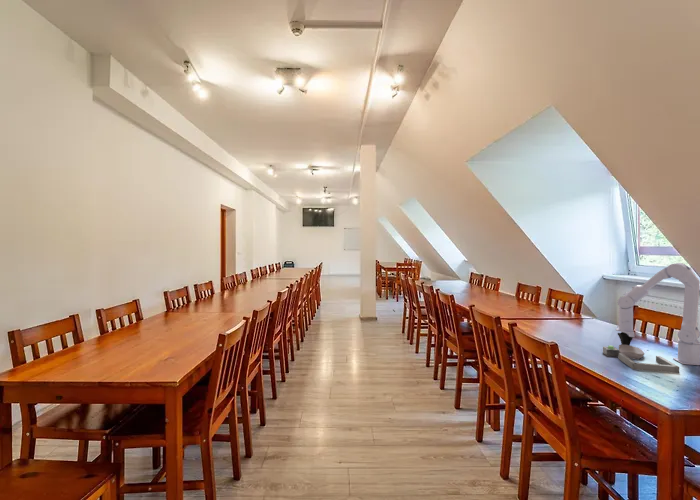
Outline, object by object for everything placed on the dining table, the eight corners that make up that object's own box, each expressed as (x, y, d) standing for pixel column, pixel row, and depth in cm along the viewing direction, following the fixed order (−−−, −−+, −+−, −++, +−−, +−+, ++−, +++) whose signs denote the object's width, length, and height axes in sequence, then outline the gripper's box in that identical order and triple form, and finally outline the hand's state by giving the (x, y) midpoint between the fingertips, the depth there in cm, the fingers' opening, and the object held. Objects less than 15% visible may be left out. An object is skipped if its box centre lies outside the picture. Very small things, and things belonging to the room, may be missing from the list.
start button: (612, 354, 180) (612, 345, 180) (614, 355, 178) (614, 346, 178) (607, 353, 181) (607, 345, 181) (609, 354, 179) (609, 346, 179)
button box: (614, 353, 181) (614, 347, 181) (619, 356, 176) (619, 350, 176) (602, 352, 182) (602, 346, 182) (606, 355, 178) (606, 349, 178)
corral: (659, 361, 169) (660, 356, 169) (679, 373, 154) (679, 367, 154) (618, 358, 173) (618, 353, 173) (633, 369, 158) (633, 363, 158)
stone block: (641, 358, 180) (616, 350, 186) (644, 348, 180) (619, 341, 185) (643, 365, 171) (617, 357, 176) (646, 356, 170) (619, 348, 175)
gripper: (610, 317, 193) (610, 343, 193) (622, 323, 179) (622, 351, 179) (626, 318, 191) (626, 345, 191) (639, 324, 177) (639, 353, 177)
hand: (625, 348), depth 185 cm, fingers closed
